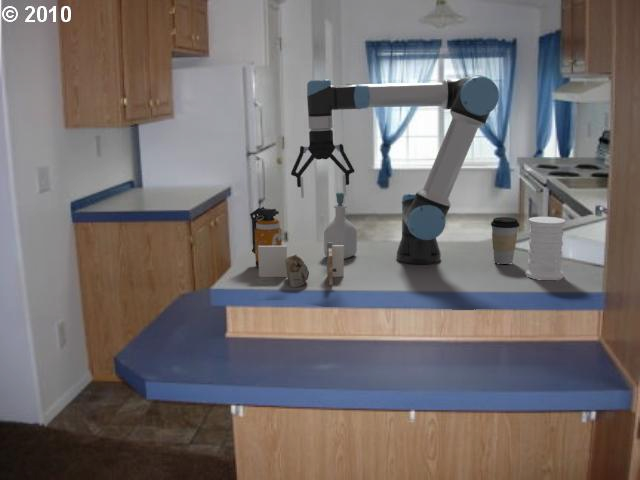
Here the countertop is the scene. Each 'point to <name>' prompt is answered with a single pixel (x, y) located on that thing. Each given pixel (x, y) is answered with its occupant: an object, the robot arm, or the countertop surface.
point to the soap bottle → (341, 230)
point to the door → (330, 267)
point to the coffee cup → (504, 239)
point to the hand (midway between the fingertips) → (323, 196)
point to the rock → (296, 271)
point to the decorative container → (545, 248)
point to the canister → (265, 229)
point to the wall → (275, 256)
